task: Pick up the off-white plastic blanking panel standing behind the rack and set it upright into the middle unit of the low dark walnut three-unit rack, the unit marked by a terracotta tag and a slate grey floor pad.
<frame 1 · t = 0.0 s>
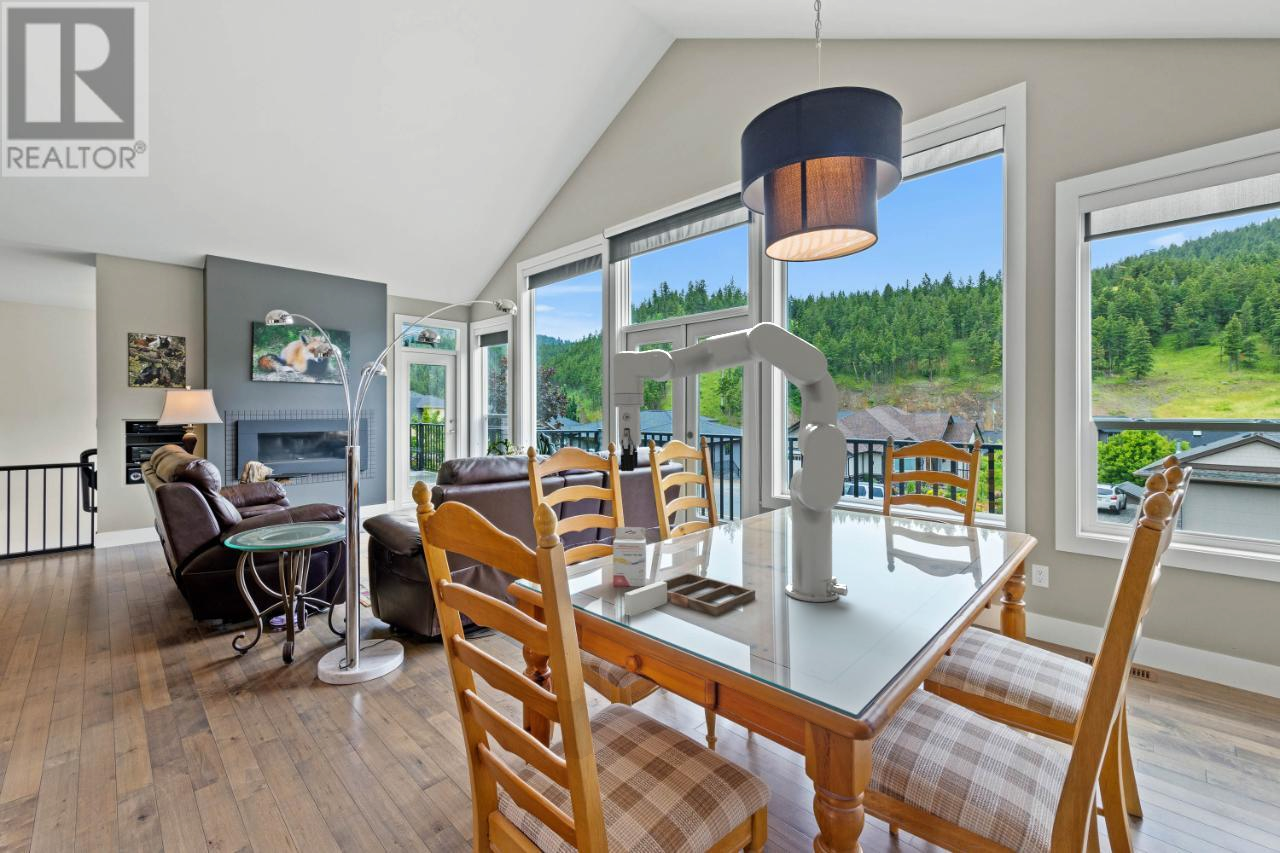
hand: (629, 468, 139), 31 cm above the table, tool pointing down, fingers open, 9 cm apart
ink cartridge box: (630, 584, 146), on the table
rack: (700, 596, 135), on the table
blanking panel: (646, 609, 128), on the table
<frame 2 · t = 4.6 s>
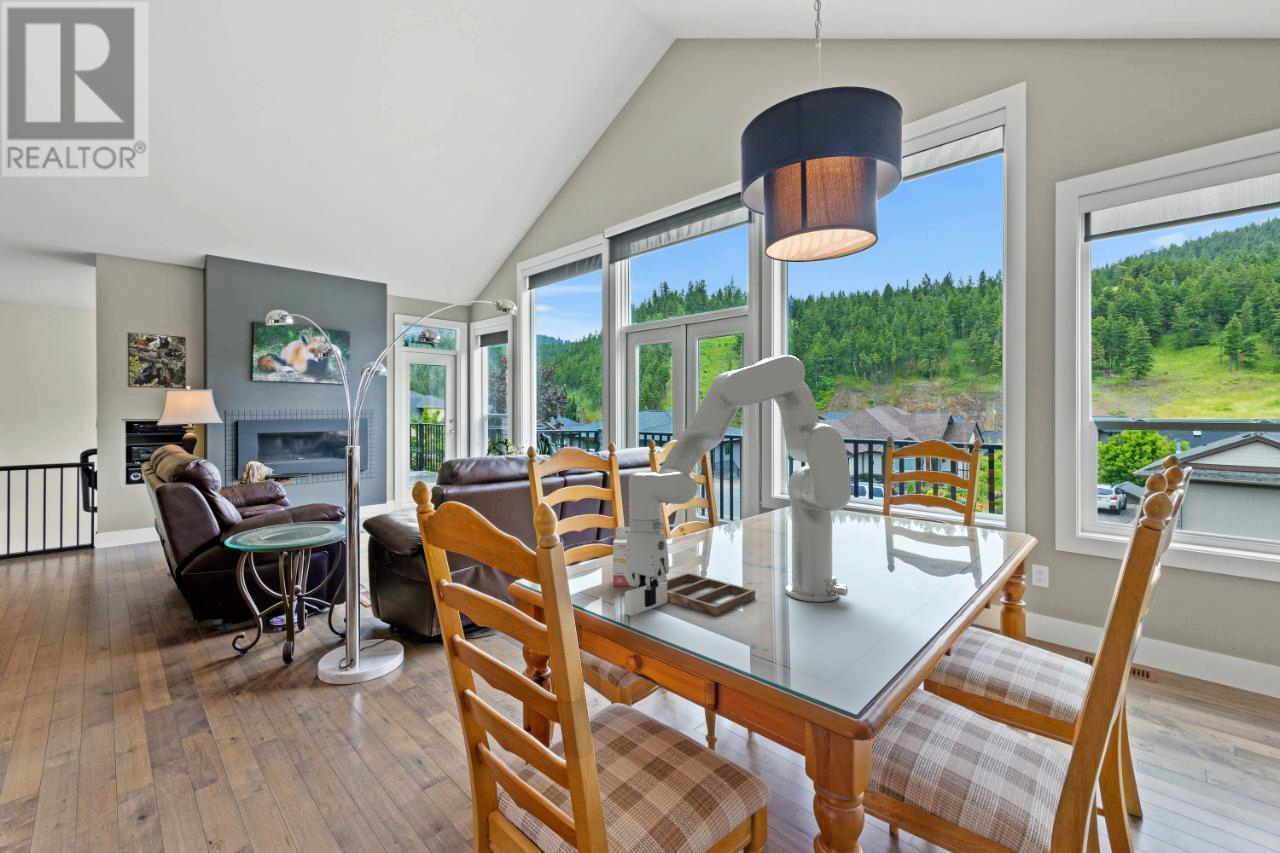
hand: (646, 603, 128), 1 cm above the table, tool pointing down, fingers closed on blanking panel, 1 cm apart
blanking panel: (646, 608, 128), on the table, touching gripper
everything else where it was.
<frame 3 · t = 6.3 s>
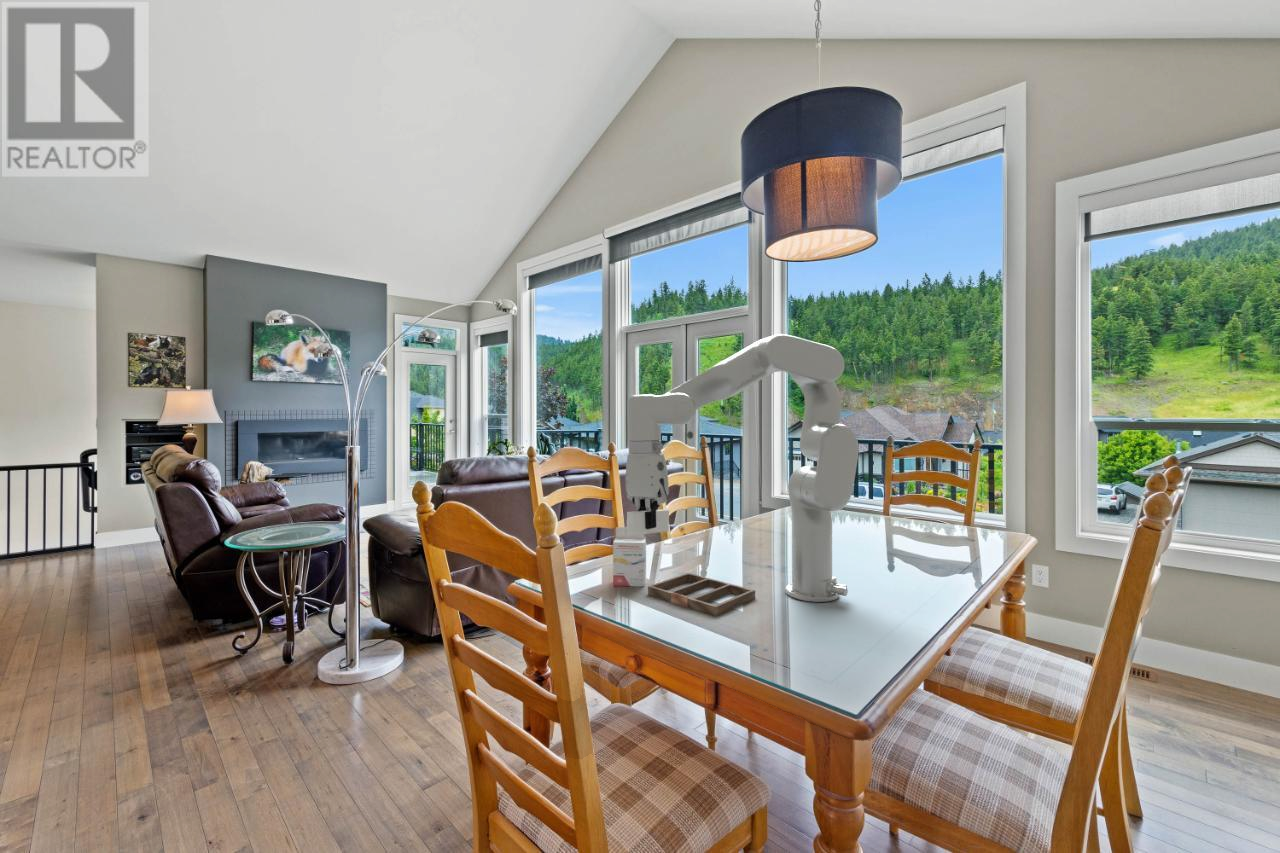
hand: (647, 527, 127), 19 cm above the table, tool pointing down, fingers closed on blanking panel, 1 cm apart
blanking panel: (647, 532, 127), point 18 cm above the table, tilted 5°, touching gripper
everything else where it was.
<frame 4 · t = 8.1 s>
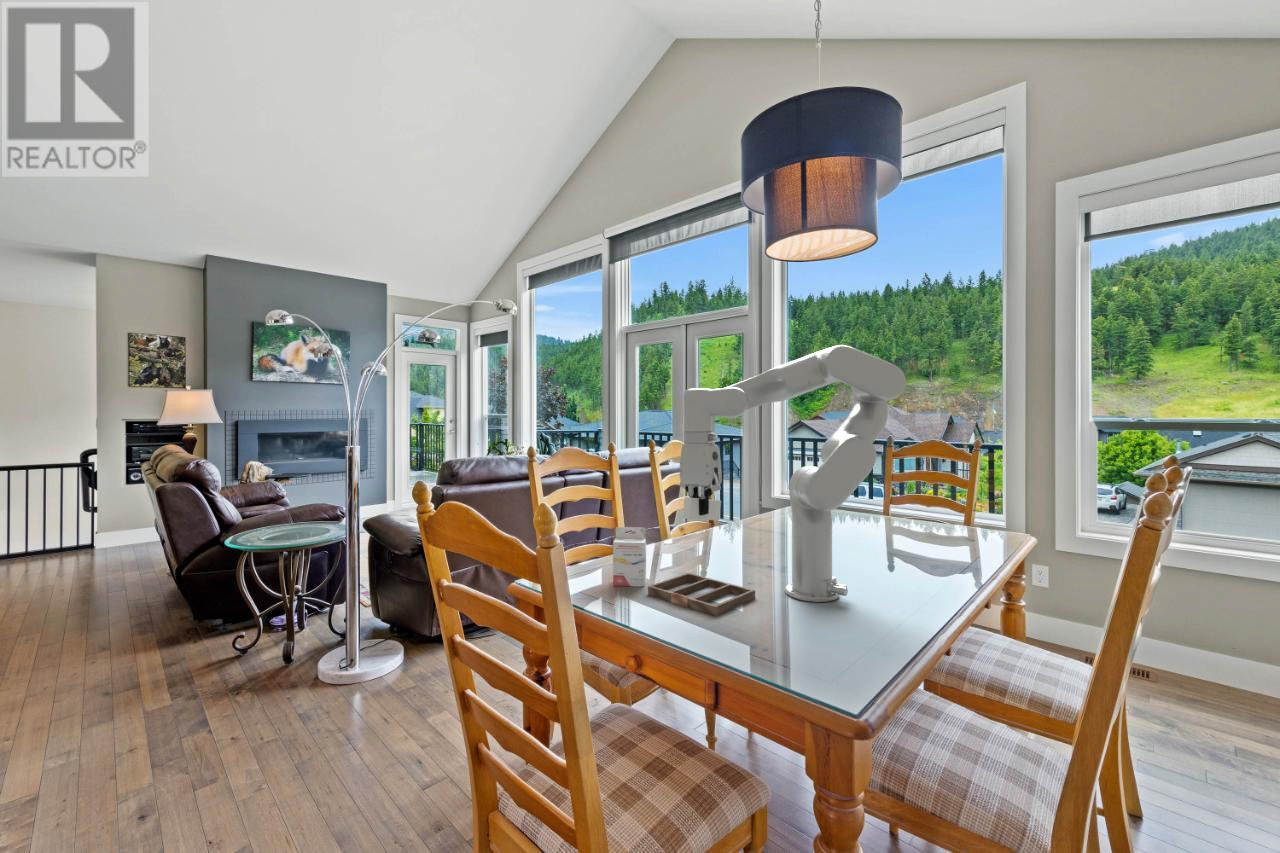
hand: (699, 513, 135), 21 cm above the table, tool pointing down, fingers closed on blanking panel
blanking panel: (701, 519, 135), point 19 cm above the table, tilted 10°, touching gripper
everything else where it was.
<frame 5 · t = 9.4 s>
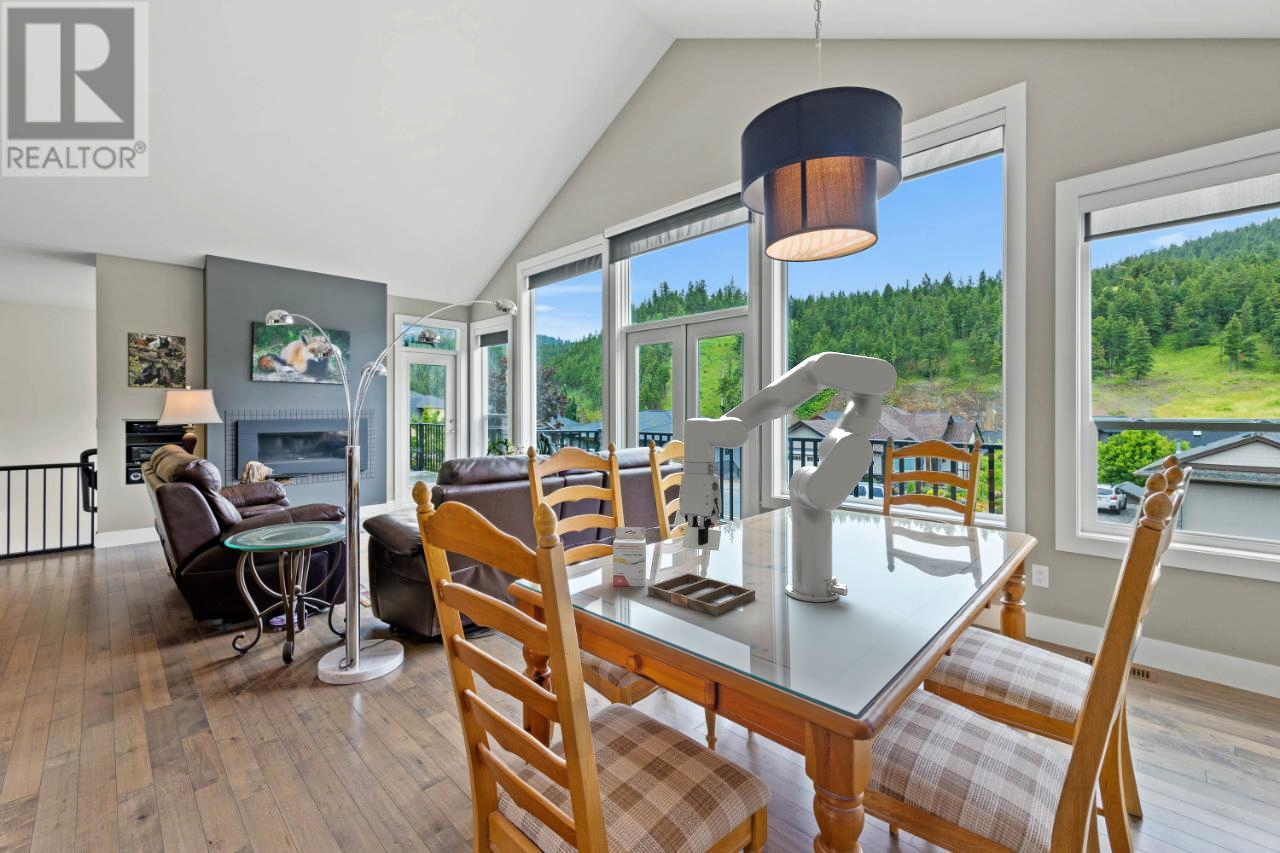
hand: (699, 542, 135), 13 cm above the table, tool pointing down, fingers closed on blanking panel
blanking panel: (700, 548, 136), point 12 cm above the table, tilted 13°, touching gripper
everything else where it was.
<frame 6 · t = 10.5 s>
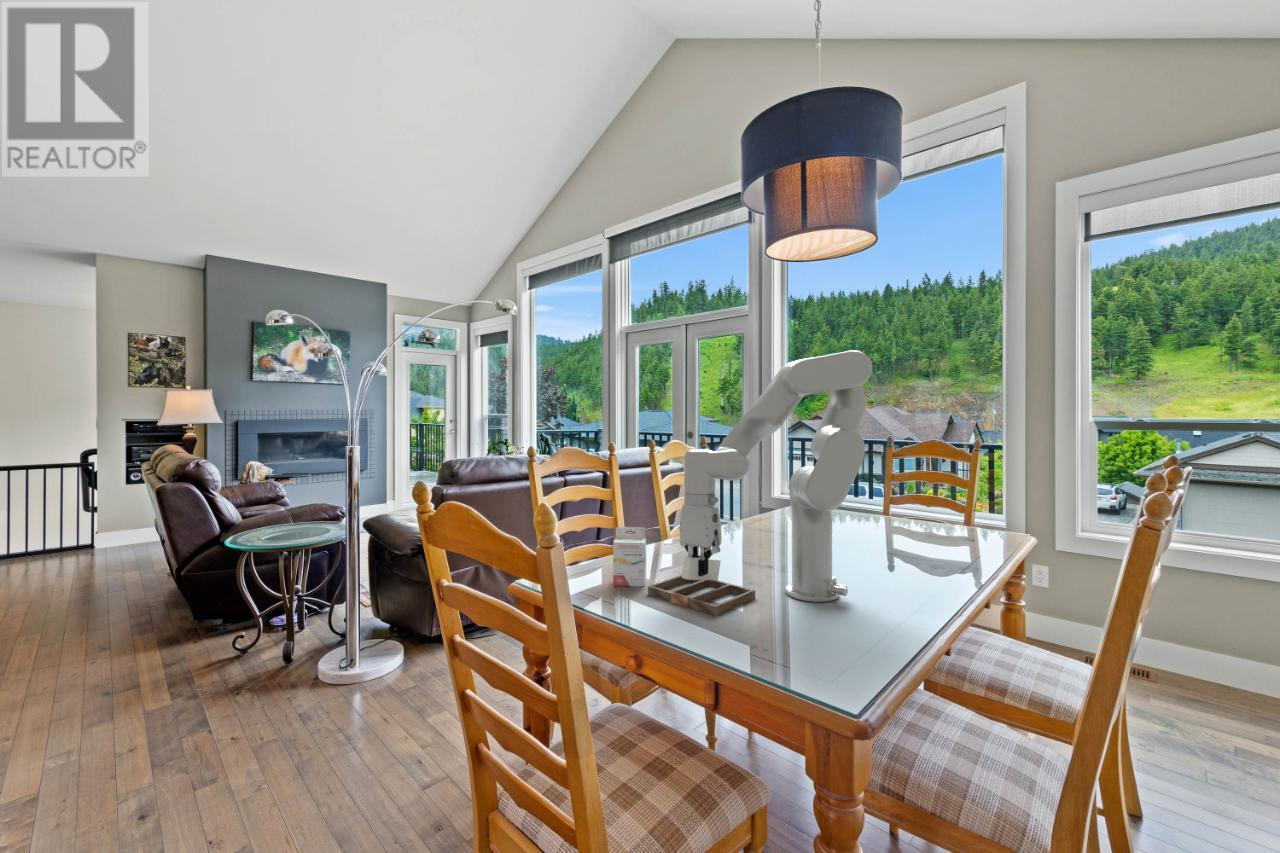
hand: (699, 573, 135), 6 cm above the table, tool pointing down, fingers closed on blanking panel
blanking panel: (700, 579, 136), point 4 cm above the table, tilted 14°, touching gripper
everything else where it was.
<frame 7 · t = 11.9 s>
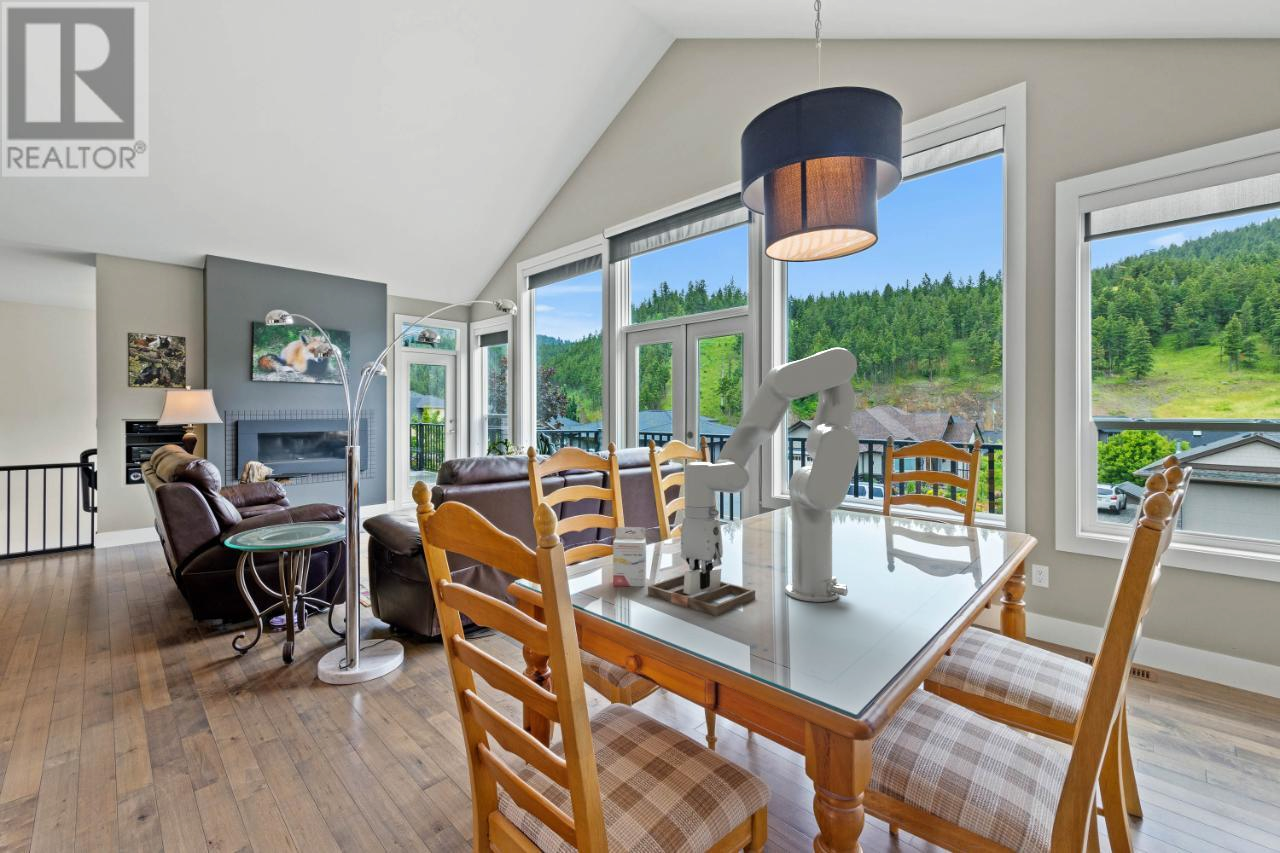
hand: (700, 586, 135), 2 cm above the table, tool pointing down, fingers closed on blanking panel, 1 cm apart
blanking panel: (702, 590, 136), point 1 cm above the table, tilted 7°, touching gripper
everything else where it was.
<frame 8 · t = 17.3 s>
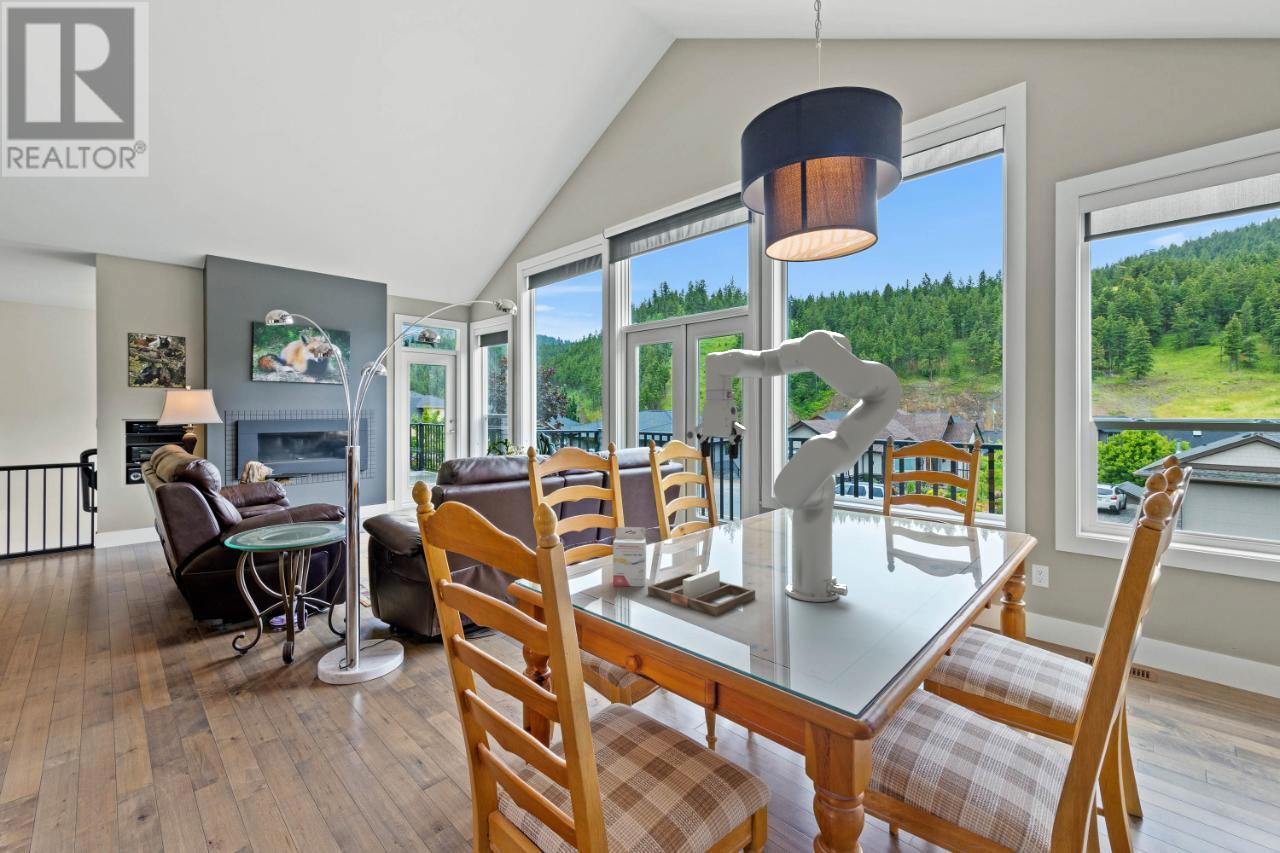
hand: (719, 457, 155), 32 cm above the table, tool pointing down, fingers open, 9 cm apart
blanking panel: (701, 595, 136), resting on rack
everything else where it was.
at the end: blanking panel 0.4 cm off-centre on the rack, point 0.2 cm above the rack's base; blanking panel tilted 0°; the gripper is holding nothing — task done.
